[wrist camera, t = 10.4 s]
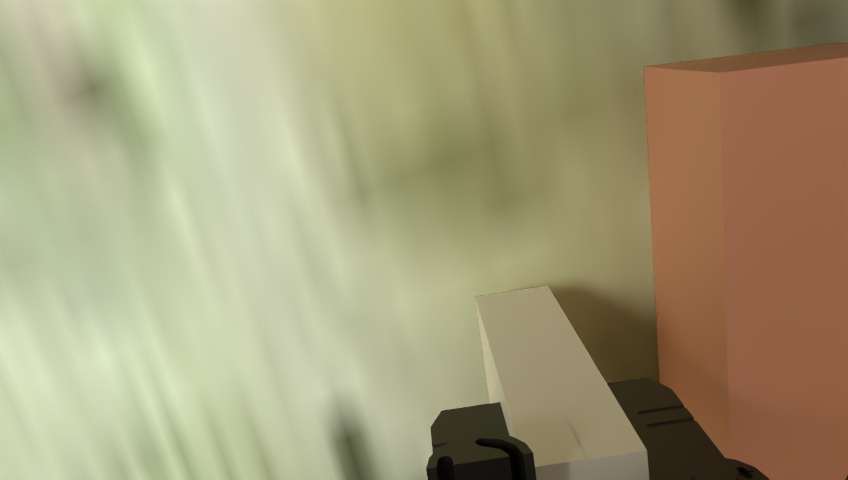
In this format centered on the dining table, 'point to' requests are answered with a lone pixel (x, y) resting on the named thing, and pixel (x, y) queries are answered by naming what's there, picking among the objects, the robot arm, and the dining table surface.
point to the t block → (755, 252)
